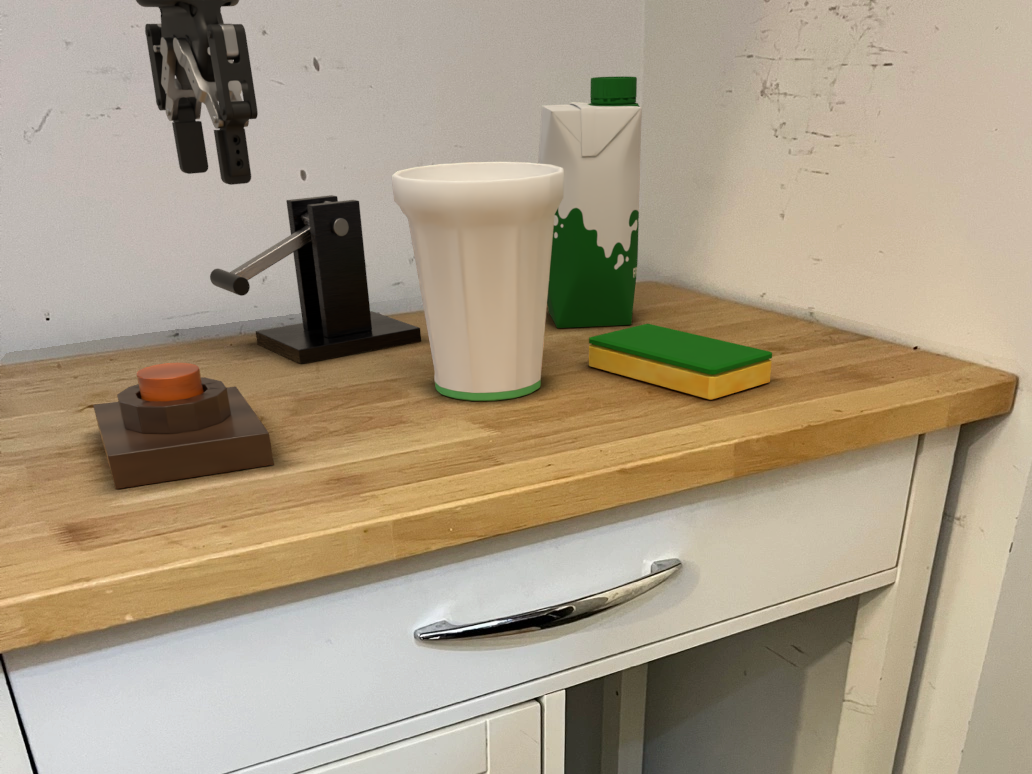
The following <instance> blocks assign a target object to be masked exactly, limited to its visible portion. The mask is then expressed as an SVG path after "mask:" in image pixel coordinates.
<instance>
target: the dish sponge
mask: <svg viewBox="0 0 1032 774" xmlns="http://www.w3.org/2000/svg"><path fill="white" fill-rule="evenodd" d="M588 344H589V345H588V366H589V367H592V368H595V369H598V370H603V371H605V372H609V373H611V374H617V375H619V376H620V375H621V376H624V377H627V378H630V379H634V380H638V381H641V382H644V383H649V384H652V385H656V386H660V387H663V388H666V389H670V390H674V391H677V392H680V393H684V394H687V395H691V396H695V397H699V398H702V399H705V400H710V401H712V400H715V399H718V398H722V397H725V396H728V395H732V394H734V393H735V394H736V393H739V392H741V391H745V390H748V389H751V388H754V387H757V386H761V385H765V384H767V383H770V382H771V374H772V373H771V371H772V364H773V363H772V360H771V359H773V352H772V351H769V350H765V349H761V348H757V347H753V346H748V345H745V344H744V345H743V344H738V343H734V342H730V341H726V340H721V339H718V338H713V337H709V336H703V335H699V334H696V333H691V332H687V331H682V330H678V329H674V328H669V327H666V326H665V327H664V326H660V325H657V324H652V323H644V324H639V325H636V326H632V327H631V326H630V327H627V328H622V329H618V330H614V331H610V332H606V333H601V334H598V335H594V336H590V337H588Z"/></svg>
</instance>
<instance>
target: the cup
mask: <svg viewBox="0 0 1032 774" xmlns="http://www.w3.org/2000/svg"><path fill="white" fill-rule="evenodd" d="M391 185H392V193H393V202H394V203H395V204H396V205H397V206H398V207H399V209H400V211H401V213H402V214H404V216H405V217H406V218H407V221H408V228H409V232H410V239H411V244H412V250H413V256H414V261H415V266H416V267H415V268H416V273H417V279H418V284H419V289H420V290H419V291H420V297H421V303H422V307H423V313H424V318H425V319H424V320H425V324H426V330H427V336H428V342H429V347H430V354H431V358H432V365H433V370H434V377H433V378H434V387H435V390H436V391H437V392H438V393H440V395H442V396H444V397H447V398H451V399H455V400H463V401H471V402H492V401H503V400H504V401H505V400H511V399H517V398H520V397H521V398H522V397H524V396H527V395H530V394H532V393H534V392H536V391H538V389H540V388H541V385H542V381H541V380H542V379H541V378H542V366H543V354H544V342H545V331H546V321H547V310H548V306H547V297H548V285H549V274H550V262H551V250H552V239H553V227H554V215H555V213H556V211H557V209H558V207H559V205H560V203H561V201H562V199H563V187H564V169H563V168H562V167H558V166H554V165H550V164H539V163H538V162H527V161H525V162H524V161H469V162H453V163H452V162H451V163H438V164H429V165H421V166H413V167H409V168H405V169H400V170H397V171H395V172H394V173H393V174H392V175H391Z"/></svg>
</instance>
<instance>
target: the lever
mask: <svg viewBox="0 0 1032 774" xmlns="http://www.w3.org/2000/svg"><path fill="white" fill-rule="evenodd" d="M323 203H329V201H325V202H323ZM301 218H302V221H303V223H304V225H305V227H303V228H302V229H300V230H298V231H297V232H295V233H293V234H292V235H291V234H290V235H289V236H287V237H285V238H283V239H282V240H280V241H278V242H277V243H275V244H273V245H272V246H270V247H268V248H267V249H266V250H264V251H262V252H260V253H259V254H257V255H256V256H254V257H252V258H250V259H249V260H247V261H245V262H244V263H242V264H240V265H239V266H237V267H236V268H234V269H232V270H231V271H227V270H224V269H222V268H214V269H213V270H212V271H211V272H210V275H209V280H210V282H211V284H212V285H213V286H215V287H217V288H219V289H222V290H224V291H227V292H230V293H232V294H235V295H238V296H239V297H240V296H241V297H242V296H246V295H247V294H248V293H249V291H250V289H251V285H250V282H249V280H251V279H253V278H254V277H256V276H257V275H259V274H261V273H262V272H264V271H266V270H267V269H269V268H270V267H272V266H274V265H275V264H277V263H279V262H280V261H282V260H283V259H285V258H286V257H288V256H290V255H291V254H293V252H295V251H296V250H298V249H300V248H301V247H303V246H304V245H306V244H308V243H309V242H311V241H312V240H311V231H310V223H309V215H308V212H307V213H305V214H304V215H302V216H301Z"/></svg>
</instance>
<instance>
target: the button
mask: <svg viewBox="0 0 1032 774" xmlns="http://www.w3.org/2000/svg"><path fill="white" fill-rule="evenodd" d="M201 377H202V376H201V371H200V367H199V366H198V365H196V364H194V363H189V362H168V363H167V362H166V363H158V364H153V365H149V366H146V367H143V368H141V369H139V370H138V371H136V379H137V384H139V389H140V393H141V398H142V400H146V401H173V400H181V399H187V398H191V397H194V396H197V395H201V394H202V393H204V392H203V386H202V381H201Z"/></svg>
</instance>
